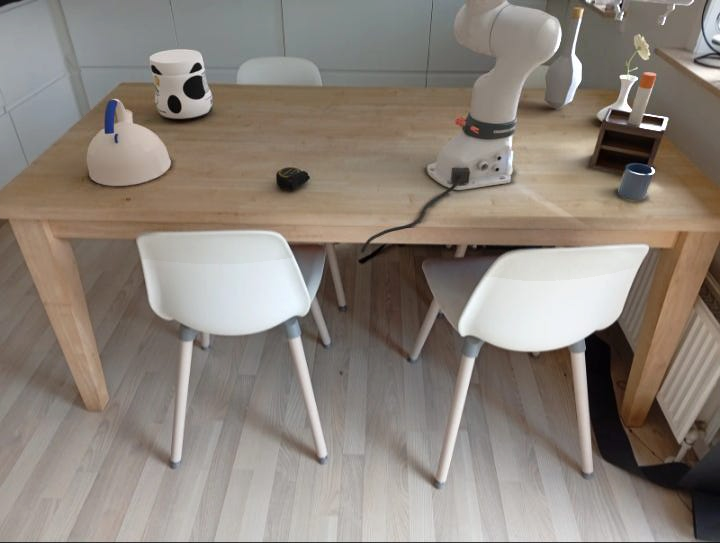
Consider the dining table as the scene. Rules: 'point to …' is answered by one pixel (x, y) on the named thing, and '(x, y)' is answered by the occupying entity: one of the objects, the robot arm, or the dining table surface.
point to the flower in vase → (627, 78)
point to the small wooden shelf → (627, 141)
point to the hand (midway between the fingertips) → (638, 21)
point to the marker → (642, 98)
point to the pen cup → (636, 181)
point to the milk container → (180, 84)
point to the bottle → (565, 68)
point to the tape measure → (291, 178)
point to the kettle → (125, 151)
